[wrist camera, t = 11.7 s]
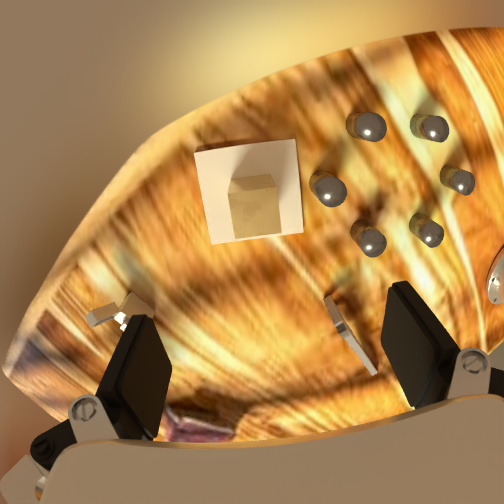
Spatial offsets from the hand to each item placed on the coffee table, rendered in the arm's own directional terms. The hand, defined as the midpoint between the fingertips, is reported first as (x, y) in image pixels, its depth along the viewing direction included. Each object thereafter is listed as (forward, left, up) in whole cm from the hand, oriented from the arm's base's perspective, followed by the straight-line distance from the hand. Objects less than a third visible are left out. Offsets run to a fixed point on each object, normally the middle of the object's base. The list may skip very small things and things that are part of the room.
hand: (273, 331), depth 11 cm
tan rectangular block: (0, 0, -21) cm, 21 cm away
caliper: (-12, +23, -22) cm, 34 cm away
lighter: (+17, +11, -21) cm, 30 cm away
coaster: (0, 0, -21) cm, 21 cm away
